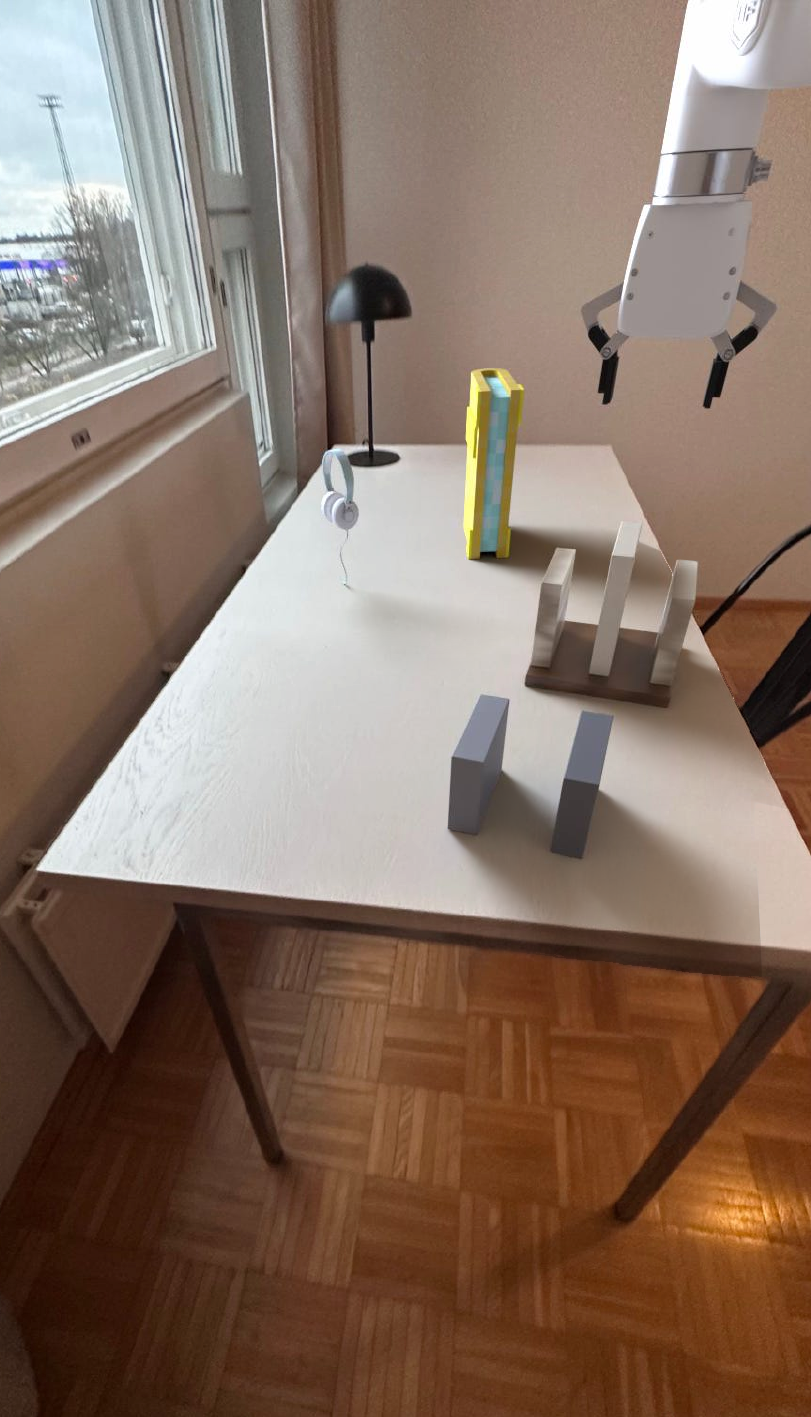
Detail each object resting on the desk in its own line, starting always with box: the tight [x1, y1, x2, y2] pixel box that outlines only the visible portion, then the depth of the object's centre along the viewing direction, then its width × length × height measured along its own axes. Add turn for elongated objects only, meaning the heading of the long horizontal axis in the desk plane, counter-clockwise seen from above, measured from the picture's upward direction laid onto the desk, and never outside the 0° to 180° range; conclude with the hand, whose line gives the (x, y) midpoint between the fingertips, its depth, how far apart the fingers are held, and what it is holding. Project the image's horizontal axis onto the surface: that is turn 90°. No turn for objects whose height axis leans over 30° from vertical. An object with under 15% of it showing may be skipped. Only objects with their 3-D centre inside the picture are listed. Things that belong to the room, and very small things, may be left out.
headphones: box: [320, 448, 360, 585], centre depth 108 cm, size 8×4×20 cm, turn 27°
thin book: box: [589, 520, 643, 676], centre depth 86 cm, size 2×11×15 cm, turn 159°
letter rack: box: [524, 547, 699, 709], centre depth 88 cm, size 17×16×12 cm
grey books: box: [447, 693, 614, 860], centre depth 69 cm, size 13×11×9 cm
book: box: [462, 367, 525, 560], centre depth 118 cm, size 17×7×25 cm, turn 179°
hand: (655, 403), depth 72 cm, fingers open, 9 cm apart
